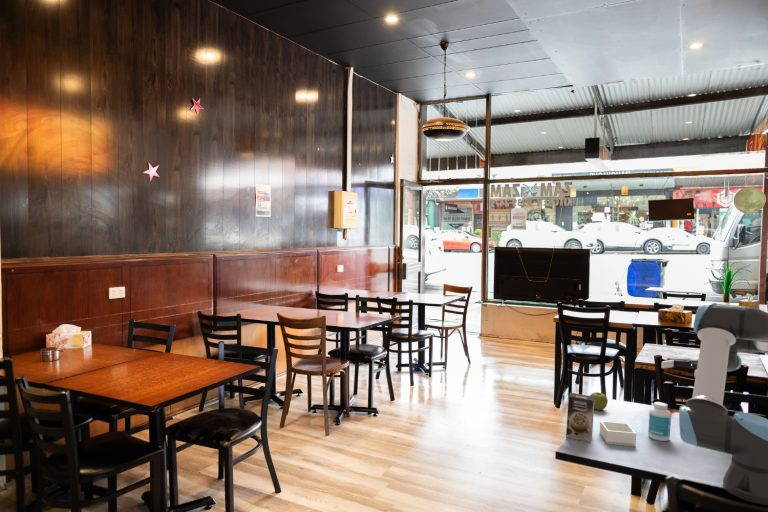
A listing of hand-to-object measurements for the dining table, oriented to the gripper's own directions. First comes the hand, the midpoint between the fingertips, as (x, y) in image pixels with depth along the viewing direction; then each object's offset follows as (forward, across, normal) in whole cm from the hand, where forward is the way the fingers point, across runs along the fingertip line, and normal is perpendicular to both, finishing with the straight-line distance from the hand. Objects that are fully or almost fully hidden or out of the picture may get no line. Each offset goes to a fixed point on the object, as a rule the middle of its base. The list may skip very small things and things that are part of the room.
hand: (678, 369), depth 203 cm
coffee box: (+39, +12, -26) cm, 48 cm away
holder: (+27, +5, -26) cm, 38 cm away
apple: (+5, +33, -26) cm, 42 cm away
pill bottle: (+10, 0, -26) cm, 28 cm away
